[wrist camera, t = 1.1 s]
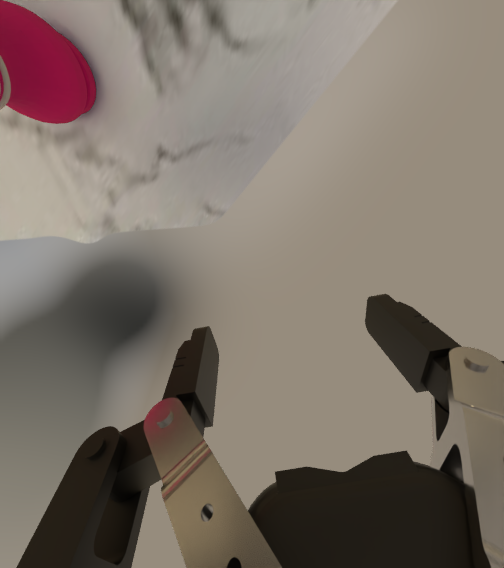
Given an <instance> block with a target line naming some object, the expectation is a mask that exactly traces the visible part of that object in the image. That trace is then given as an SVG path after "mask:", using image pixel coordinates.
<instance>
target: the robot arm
mask: <svg viewBox="0 0 504 568" xmlns="http://www.w3.org/2000/svg"><path fill="white" fill-rule="evenodd" d="M365 324H366V328H367V330H368V332H369V334H370V335H371V336H372V337H373V339H374V340H375V341H376V342H377V344H378V345H379V346H380V347H381V349H382V350H383V351H384V352H385V354H386V355H387V356H388V357H389V359H390V360H391V361H392V362H393V363H394V365H395V366H396V367H397V369H398V370H399V371H400V372H401V374H402V375H403V376H404V377H405V379H406V380H407V381H408V382H409V384H410V385H411V386H412V387H413V389H414V390H415V391H416V392H423V391H429V392H430V393H431V394H432V395H433V397H432V400H431V405H432V436H433V449H432V455H431V461H430V466H428V465H425V464H420V463H417V462H413V461H412V459H411V457H410V456H409V454H408V452H407V451H401V452H395V453H389V454H383V455H377V456H373V457H371V458H369V459H368V460H366V461H364V462H362V463H360V464H359V465H357V466H355V467H353V468H352V469H350V470H348V471H346V472H337V471H330V470H324V469H317V468H312V467H302V468H296V469H290V470H283V471H277V472H275V475H276V482H275V483H273V484H272V485H270V486H269V487H268V488H266V489H265V490H264V491H263V492H262V493H261V494H260V495H259V496H258V497H257V498H256V500H255V501H254V502H253V504H252V505H251V506H250V508H249V510H248V511H247V509H246V507H245V506H244V504H243V502H242V501H241V499H240V497H239V496H238V494H237V492H236V491H235V489H234V487H233V486H232V484H231V483H230V481H229V479H228V478H227V476H226V475H225V473H224V471H223V469H222V468H221V466H220V465H219V463H218V461H217V460H216V458H215V456H214V455H213V453H212V451H211V450H210V448H209V446H208V445H207V444H206V442H205V440H204V439H203V435H204V428H205V427H211V426H213V416H214V407H215V396H216V386H217V385H216V384H217V375H218V364H219V353H218V348H217V345H216V342H215V340H214V337H213V334H212V331H211V329H210V327H209V326H207V327H202V328H197V329H194V330H193V333H192V336H191V340H188V341H185V342H184V343H183V344H182V346H181V347H180V348H179V349H178V353H177V355H176V360H175V362H174V365H173V369H172V371H171V374H170V377H169V380H168V383H167V386H166V389H165V393H164V396H163V399H162V401H160V402H159V403H158V404H156V405H155V406H154V407H153V408H152V409H151V410H150V411H149V413H148V414H147V416H146V418H145V420H143V421H141V422H140V423H138V424H136V425H133V426H132V427H129V428H127V429H126V430H123V431H122V432H119V431H118V430H117V429H116V428H115V427H111V426H110V427H105V428H102V429H100V430H98V431H97V432H95V433H94V434H92V435H91V436H90V437H89V438H88V439H86V441H84V443H83V444H82V445H81V446H80V448H79V449H78V451H77V452H76V454H75V456H74V458H73V460H72V462H71V464H70V466H69V468H68V469H67V471H66V473H65V475H64V477H63V479H62V481H61V483H60V485H59V487H58V489H57V491H56V492H55V494H54V496H53V498H52V500H51V502H50V504H49V506H48V508H47V510H46V512H45V514H44V516H43V518H42V519H41V521H40V523H39V525H38V527H37V529H36V531H35V533H34V535H33V537H32V539H31V541H30V542H29V545H28V546H27V548H26V550H25V552H24V554H23V556H22V558H21V560H20V562H19V564H18V566H17V568H131V566H132V562H133V557H134V553H135V549H136V545H137V540H138V536H139V532H140V527H141V523H142V518H143V514H144V510H145V505H146V501H147V497H148V493H149V488H150V486H151V485H153V484H154V483H156V482H158V481H159V480H161V479H162V483H163V487H162V488H161V493H162V497H163V500H164V503H165V506H166V509H167V512H168V515H169V518H170V521H171V523H172V527H173V530H174V533H175V535H176V538H177V541H178V544H179V547H180V550H181V553H182V556H183V558H184V562H185V565H186V567H187V568H504V361H500V360H498V359H497V358H496V357H494V356H492V355H490V354H489V353H487V352H484V351H482V350H479V349H475V348H471V347H462V346H460V345H459V344H458V343H456V342H455V341H454V340H453V339H452V338H450V337H449V336H448V335H446V334H445V333H444V332H443V331H441V330H440V329H439V328H438V327H436V326H435V325H434V324H433V323H430V322H429V320H428V319H426V318H425V317H424V316H422V315H421V314H420V313H419V312H418V311H416V310H415V309H414V308H412V307H410V306H408V305H406V304H403V303H401V302H396V301H395V300H394V299H392V298H391V297H390V296H389V295H387V294H382V295H377V296H371V297H369V298H368V300H367V308H366V319H365Z"/></svg>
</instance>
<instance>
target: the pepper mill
mask: <svg viewBox="0 0 504 568" xmlns="http://www.w3.org/2000/svg"><path fill="white" fill-rule="evenodd" d="M95 98H96V86H95V81H94V77H93V74H92V72H91V70H90V67H89V66H88V64H87V62H86V60H85V59H84V57H83V56H82V54H81V53H80V52H79V50H78V49H77V48H76V47H75V46H74V45H73V44H72V43H71V42H70V41H69V40H68V39H67V38H65V37H64V36H63V35H61V34H59V33H58V32H56V31H55V30H54V29H53V28H52V27H51V26H50V25H49V24H48V23H46V22H45V21H44V20H43V19H41V18H40V17H39V16H37V15H36V14H34V13H33V12H31V11H29V10H27V9H26V8H24V7H21V6H19V5H16V4H13V3H10V2H7V1H3V0H0V109H2V108H3V107H4V106H5V105H7V106H8V107H10V108H11V109H13V110H15V111H17V112H19V113H21V114H23V115H25V116H28V117H30V118H33V119H35V120H38V121H42V122H47V123H56V124H59V123H68V122H71V121H73V120H75V119H76V118H78V117H79V116H80V115H81V114H83V113H86V112H87V111H89V110H90V109H91V107H92V106H93V104H94V102H95Z"/></svg>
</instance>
